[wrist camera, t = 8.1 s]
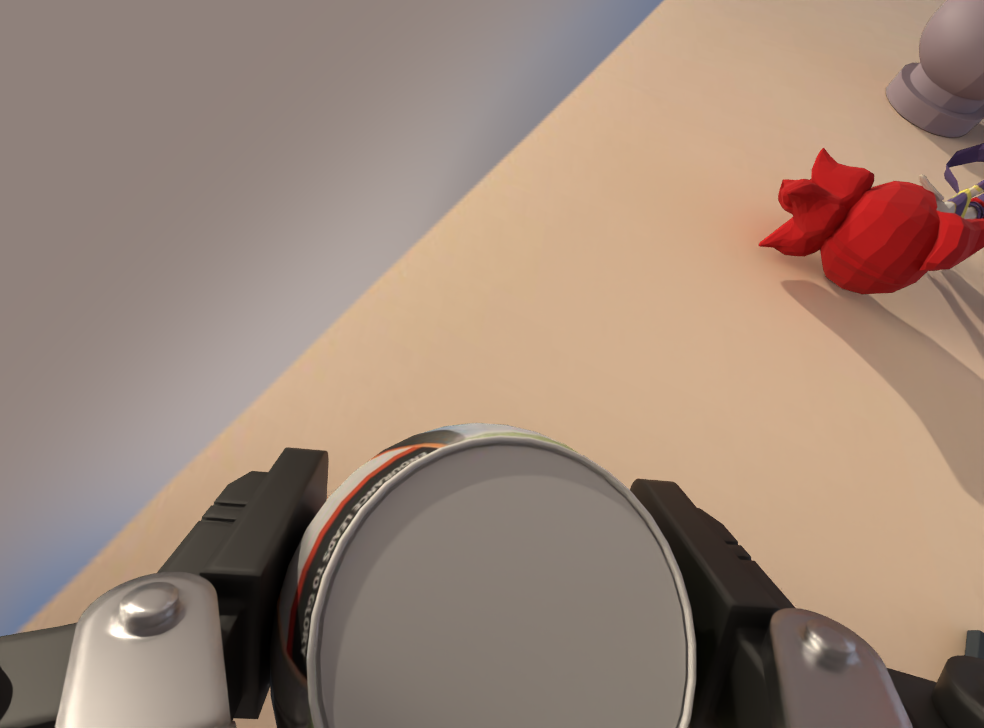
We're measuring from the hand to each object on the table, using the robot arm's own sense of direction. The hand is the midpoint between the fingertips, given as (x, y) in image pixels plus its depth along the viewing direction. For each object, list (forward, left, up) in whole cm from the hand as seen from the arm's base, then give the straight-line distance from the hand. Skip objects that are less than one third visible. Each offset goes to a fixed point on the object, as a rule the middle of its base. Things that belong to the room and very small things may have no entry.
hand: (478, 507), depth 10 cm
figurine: (+28, +4, -9) cm, 29 cm away
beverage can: (-1, -1, -9) cm, 9 cm away
